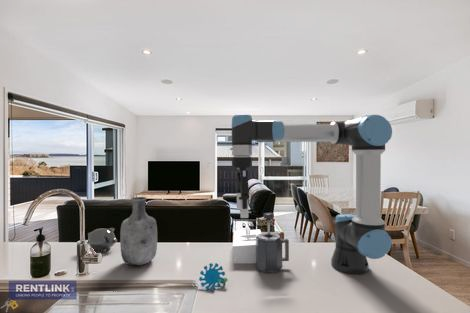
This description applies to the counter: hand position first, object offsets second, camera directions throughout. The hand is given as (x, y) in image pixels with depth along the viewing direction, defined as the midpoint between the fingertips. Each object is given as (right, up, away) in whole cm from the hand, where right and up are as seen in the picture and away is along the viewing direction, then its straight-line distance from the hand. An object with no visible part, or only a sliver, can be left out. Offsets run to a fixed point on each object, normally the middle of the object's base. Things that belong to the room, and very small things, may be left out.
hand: (242, 213), depth 100 cm
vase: (-47, -28, +23) cm, 59 cm away
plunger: (+12, -17, +16) cm, 26 cm away
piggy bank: (-72, -28, +39) cm, 86 cm away
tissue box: (+4, -28, +33) cm, 43 cm away
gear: (-11, -28, +2) cm, 30 cm away
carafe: (+14, -27, +16) cm, 34 cm away
